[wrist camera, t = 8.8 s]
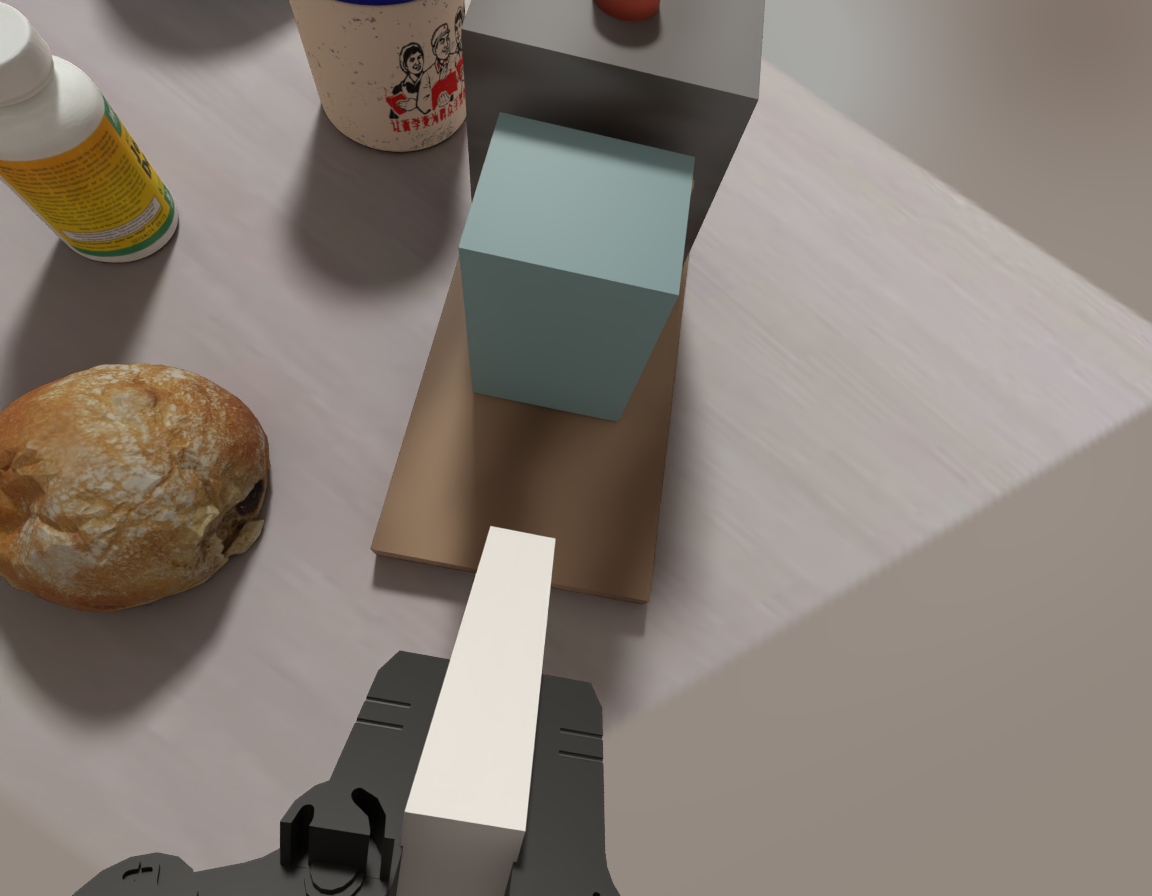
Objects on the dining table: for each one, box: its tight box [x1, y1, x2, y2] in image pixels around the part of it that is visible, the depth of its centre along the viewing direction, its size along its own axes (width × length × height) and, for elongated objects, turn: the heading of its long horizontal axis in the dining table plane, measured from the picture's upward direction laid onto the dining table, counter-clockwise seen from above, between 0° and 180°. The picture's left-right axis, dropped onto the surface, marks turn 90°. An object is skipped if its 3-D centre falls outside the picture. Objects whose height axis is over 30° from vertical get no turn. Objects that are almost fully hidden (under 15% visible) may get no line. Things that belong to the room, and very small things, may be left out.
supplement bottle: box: [0, 2, 178, 262], centre depth 25 cm, size 5×5×10 cm
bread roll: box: [0, 363, 271, 612], centre depth 23 cm, size 10×10×8 cm
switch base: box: [370, 0, 765, 604], centre depth 23 cm, size 12×22×14 cm, turn 171°
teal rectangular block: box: [458, 112, 695, 422], centre depth 24 cm, size 7×6×10 cm
